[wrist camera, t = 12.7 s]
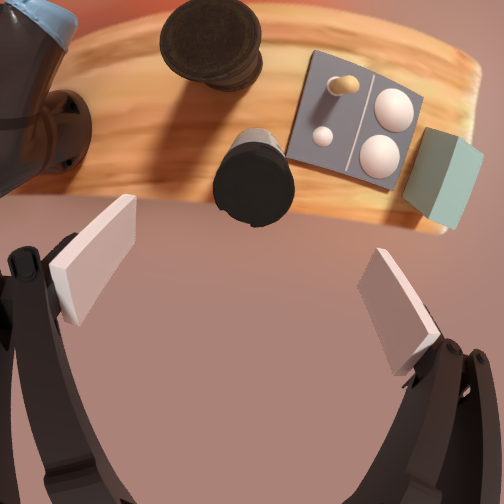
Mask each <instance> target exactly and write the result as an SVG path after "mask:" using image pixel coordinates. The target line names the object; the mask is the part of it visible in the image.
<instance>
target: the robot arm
mask: <svg viewBox="0 0 504 504" xmlns="http://www.w3.org/2000/svg"><path fill="white" fill-rule="evenodd" d="M4 2H5V3H4V4H0V198H1V197H3V196H4V195H6V194H7V193H9V192H10V191H12V190H14V189H15V188H17V187H18V186H20V185H22V184H23V183H25V182H27V181H28V180H30V179H32V178H34V177H35V176H37V175H58V174H62V173H64V172H66V171H68V170H70V169H72V168H74V167H75V166H76V165H77V164H78V163H79V162H80V161H81V160H82V159H83V157H84V155H85V154H86V152H87V149H88V147H89V143H90V139H91V132H92V123H91V116H90V112H89V109H88V107H87V105H86V103H85V101H84V100H83V99H82V98H81V97H80V96H79V95H78V94H77V93H75V92H73V91H70V90H56V91H52V92H49V89H50V87H51V84H52V82H53V79H54V77H55V75H56V73H57V70H58V68H59V66H60V64H61V62H62V60H63V57H64V55H65V54H67V52H68V46H69V44H70V42H71V40H72V38H73V36H74V34H75V32H76V30H77V27H78V20H77V17H76V16H75V15H74V14H72V13H71V12H70V11H68V10H66V9H64V8H62V7H60V6H58V5H56V4H53V3H51V2H48V1H46V0H5V1H4ZM48 92H49V93H48ZM136 199H137V196H134V195H128V194H123V195H122V196H120V197H119V198H118V199H117V200H116V201H114V202H113V203H112V204H111V205H110V206H109V207H108V208H107V209H105V210H104V211H103V212H102V213H101V214H100V215H98V216H97V217H96V218H95V219H94V220H93V221H92V222H91V223H90V224H89V225H88V226H87V227H85V228H84V229H83V231H81V232H80V233H73V234H71V235H69V236H67V237H65V238H64V239H63V240H62V241H61V242H60V243H59V245H57V246H56V247H55V248H54V250H52V251H51V252H50V253H49V254H48V255H47V256H46V257H45V258H44V259H43V260H42V261H41V260H40V256H39V252H38V249H36V248H35V247H31V246H25V247H21V248H18V249H17V250H15V251H13V252H12V253H11V254H10V255H9V257H8V260H7V261H8V264H9V268H10V271H11V275H12V276H2V274H1V270H0V504H20V497H19V491H18V484H17V479H16V473H15V466H14V458H13V449H12V438H11V381H12V369H13V368H12V367H13V359H14V349H15V350H16V358H17V366H18V372H19V378H20V384H21V389H22V394H23V399H24V403H25V407H26V411H27V415H28V419H29V423H30V426H31V430H32V433H33V436H34V439H35V443H36V446H37V449H38V451H39V454H40V457H41V460H42V462H43V465H44V468H45V473H46V474H45V476H44V485H45V488H46V491H47V493H48V496H49V498H50V500H51V502H52V504H137V503H136V502H135V501H134V499H133V498H132V496H131V495H130V493H129V492H128V490H127V489H126V488H125V487H124V485H123V484H122V482H121V481H120V480H119V478H118V476H117V475H116V473H115V471H114V470H113V468H112V466H111V464H110V463H109V461H108V459H107V457H106V455H105V453H104V451H103V449H102V447H101V445H100V443H99V441H98V439H97V437H96V435H95V432H94V430H93V428H92V426H91V424H90V421H89V419H88V416H87V414H86V412H85V409H84V407H83V404H82V401H81V399H80V396H79V393H78V390H77V388H76V385H75V382H74V379H73V376H72V373H71V369H70V366H69V363H68V360H67V356H66V352H65V349H64V345H63V341H62V337H61V333H60V328H59V324H58V321H57V316H58V315H59V313H60V312H62V316H63V319H64V321H65V322H68V323H70V324H73V325H76V326H79V327H80V325H81V324H82V322H83V320H84V318H85V317H86V315H87V314H88V312H89V310H90V309H91V307H92V305H93V304H94V302H95V301H96V299H97V297H98V296H99V294H100V292H101V291H102V290H103V288H104V287H105V285H106V283H107V282H108V280H109V279H110V277H111V276H112V274H113V273H114V271H115V270H116V268H117V267H118V265H119V264H120V263H121V261H122V260H123V258H124V257H125V255H126V254H127V253H128V251H129V250H130V249H131V247H132V246H133V244H134V243H135V224H136V223H135V222H136ZM357 287H358V289H359V292H360V294H361V296H362V298H363V301H364V303H365V305H366V308H367V310H368V312H369V315H370V317H371V319H372V322H373V324H374V327H375V329H376V332H377V334H378V337H379V339H380V341H381V344H382V347H383V349H384V352H385V355H386V357H387V360H388V363H389V365H390V368H391V371H392V374H393V376H403V375H406V374H407V373H408V372H409V371H410V370H411V369H412V368H413V367H414V370H415V374H414V375H413V376H412V377H411V378H410V379H409V380H408V381H407V382H406V383H405V384H404V385H403V386H402V388H404V387H405V386H408V387H407V389H406V392H405V395H404V398H403V400H402V403H401V405H400V408H399V410H398V412H397V415H396V417H395V419H394V422H393V424H392V426H391V428H390V430H389V432H388V434H387V436H386V439H385V440H384V443H383V444H382V446H381V448H380V450H379V452H378V454H377V456H376V458H375V459H374V461H373V463H372V465H371V467H370V468H369V470H368V472H367V474H366V475H365V477H364V479H363V480H362V482H361V483H360V485H359V487H358V488H357V490H356V491H355V492H354V494H353V495H352V496H350V497H349V498H348V499H347V500H345V501H344V502H343V503H342V504H499V503H500V493H501V475H502V473H501V472H502V451H501V434H500V422H499V413H498V406H497V399H496V393H495V387H494V382H493V377H492V372H491V368H490V364H489V361H488V358H487V357H486V354H484V352H483V351H481V350H478V349H474V350H473V351H472V352H471V353H470V355H469V356H468V355H465V354H463V352H462V350H461V348H460V346H459V345H458V344H457V343H456V342H455V341H453V340H451V339H448V338H447V339H445V338H444V336H443V335H442V333H441V331H440V330H439V328H438V326H437V324H436V322H435V321H433V317H432V316H431V315H430V312H429V311H428V309H427V307H426V306H425V305H424V304H423V303H422V302H421V300H420V299H419V297H418V296H417V294H416V292H415V291H414V289H413V288H412V286H411V285H410V283H409V282H408V280H407V279H406V277H405V276H404V274H403V273H402V271H401V270H400V268H399V267H398V266H397V264H396V263H395V261H394V260H393V258H392V257H391V255H390V254H389V253H388V251H387V250H384V249H381V248H376V249H375V251H374V253H373V255H372V257H371V259H370V261H369V263H368V265H367V267H366V269H365V271H364V273H363V275H362V277H361V279H360V281H359V283H358V285H357ZM469 387H470V389H471V390H470V393H469V394H467V395H466V396H465V397H463V393H464V392H465V391H466V390H467V389H468V388H469Z"/></svg>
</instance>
